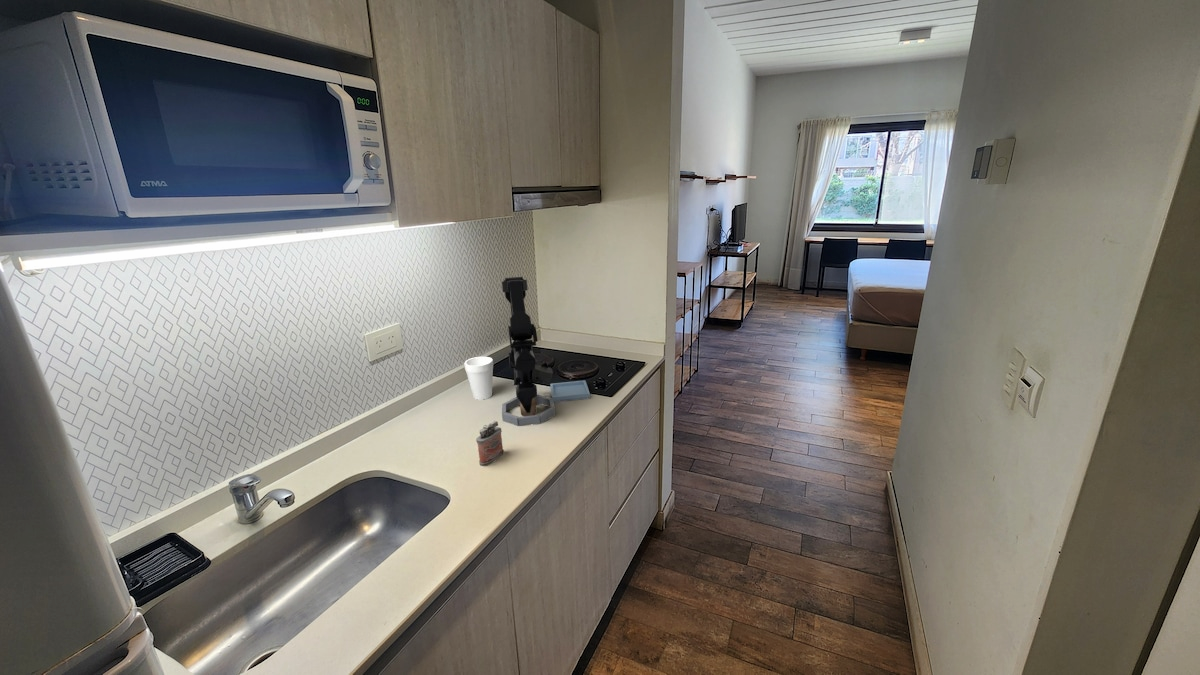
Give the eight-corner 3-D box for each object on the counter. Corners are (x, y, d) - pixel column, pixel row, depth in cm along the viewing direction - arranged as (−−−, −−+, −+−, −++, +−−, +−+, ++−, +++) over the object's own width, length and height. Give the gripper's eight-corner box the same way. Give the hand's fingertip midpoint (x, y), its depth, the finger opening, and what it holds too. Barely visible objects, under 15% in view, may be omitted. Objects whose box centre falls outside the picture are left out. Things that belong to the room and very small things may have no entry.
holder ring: (503, 404, 163) (502, 397, 162) (552, 399, 165) (552, 392, 164) (502, 427, 147) (501, 420, 146) (556, 421, 150) (555, 414, 149)
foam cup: (499, 390, 174) (496, 356, 170) (492, 402, 165) (487, 366, 161) (474, 390, 175) (469, 356, 171) (464, 401, 166) (460, 366, 162)
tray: (550, 388, 174) (550, 383, 173) (585, 384, 176) (585, 380, 175) (552, 402, 163) (552, 397, 163) (590, 398, 165) (589, 393, 164)
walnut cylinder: (520, 410, 158) (519, 390, 156) (536, 408, 159) (534, 389, 157) (521, 417, 153) (519, 397, 151) (536, 415, 154) (535, 395, 152)
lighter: (485, 467, 127) (481, 433, 124) (476, 464, 129) (472, 430, 126) (506, 453, 133) (503, 420, 130) (497, 449, 135) (494, 417, 132)
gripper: (552, 368, 143) (555, 416, 148) (548, 348, 161) (551, 391, 165) (513, 372, 141) (518, 420, 146) (514, 351, 159) (518, 395, 164)
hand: (528, 406), depth 155 cm, fingers open, 9 cm apart
